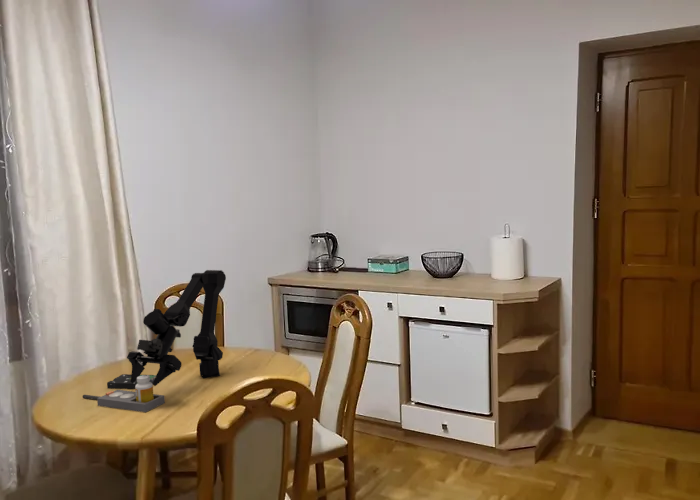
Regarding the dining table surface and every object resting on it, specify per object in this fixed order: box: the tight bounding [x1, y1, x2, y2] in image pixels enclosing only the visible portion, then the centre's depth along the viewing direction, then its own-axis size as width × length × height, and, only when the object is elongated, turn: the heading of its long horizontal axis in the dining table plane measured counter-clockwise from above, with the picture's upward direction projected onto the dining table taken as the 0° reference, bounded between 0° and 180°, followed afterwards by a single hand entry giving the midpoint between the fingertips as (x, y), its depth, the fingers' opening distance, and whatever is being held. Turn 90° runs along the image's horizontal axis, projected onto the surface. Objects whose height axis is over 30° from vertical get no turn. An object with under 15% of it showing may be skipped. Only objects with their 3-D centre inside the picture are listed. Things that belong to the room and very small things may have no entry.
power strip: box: [82, 389, 166, 413], centre depth 209 cm, size 31×9×3 cm, turn 66°
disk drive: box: [106, 373, 157, 390], centre depth 228 cm, size 10×3×15 cm
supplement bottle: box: [134, 374, 154, 403], centre depth 204 cm, size 5×5×10 cm
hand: (142, 384), depth 203 cm, fingers open, 9 cm apart
